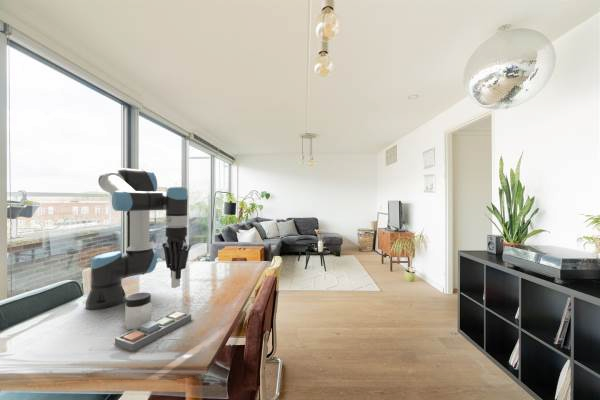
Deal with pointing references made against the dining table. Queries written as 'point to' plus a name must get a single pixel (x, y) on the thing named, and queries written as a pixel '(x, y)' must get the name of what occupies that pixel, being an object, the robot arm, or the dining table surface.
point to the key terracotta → (134, 336)
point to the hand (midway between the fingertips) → (175, 286)
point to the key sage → (165, 321)
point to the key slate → (149, 327)
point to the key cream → (176, 315)
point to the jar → (138, 310)
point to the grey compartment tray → (154, 335)
